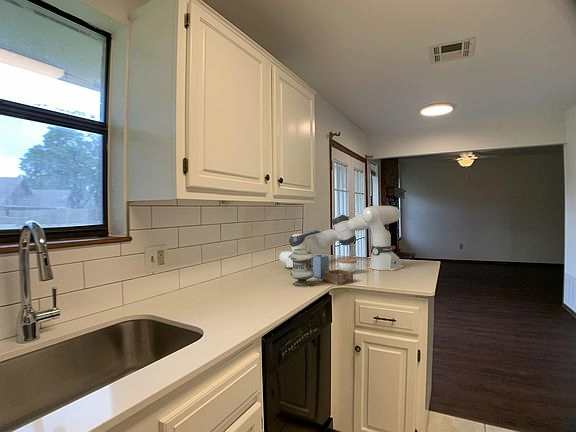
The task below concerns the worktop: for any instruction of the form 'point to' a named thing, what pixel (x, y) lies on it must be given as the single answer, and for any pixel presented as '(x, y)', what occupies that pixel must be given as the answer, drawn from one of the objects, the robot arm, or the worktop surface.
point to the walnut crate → (338, 277)
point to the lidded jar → (347, 264)
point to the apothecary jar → (302, 266)
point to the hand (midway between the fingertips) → (312, 263)
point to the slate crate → (320, 265)
